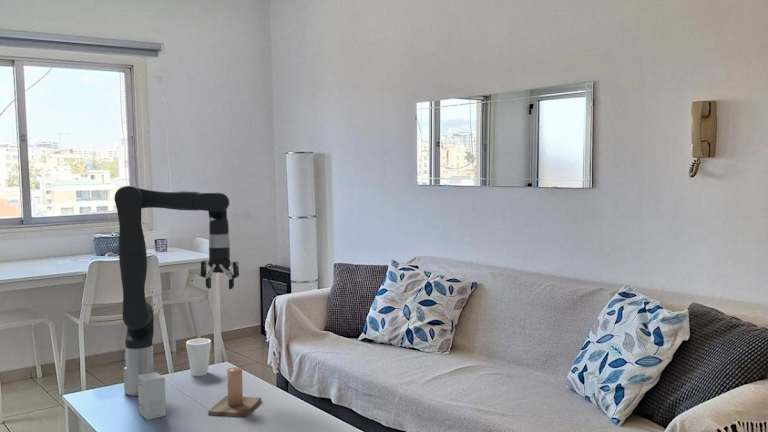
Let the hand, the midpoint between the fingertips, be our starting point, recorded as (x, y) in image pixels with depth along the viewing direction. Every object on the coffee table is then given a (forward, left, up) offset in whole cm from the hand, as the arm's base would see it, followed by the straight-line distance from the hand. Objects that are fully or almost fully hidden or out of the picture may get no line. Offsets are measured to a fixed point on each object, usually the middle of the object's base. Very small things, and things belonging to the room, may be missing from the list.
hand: (220, 288), depth 252 cm
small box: (-10, -35, -36) cm, 51 cm away
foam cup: (-13, +9, -36) cm, 40 cm away
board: (+15, -25, -36) cm, 46 cm away
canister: (+15, -25, -35) cm, 45 cm away
